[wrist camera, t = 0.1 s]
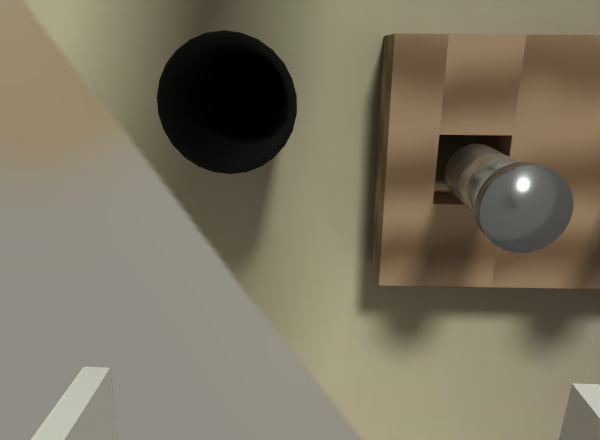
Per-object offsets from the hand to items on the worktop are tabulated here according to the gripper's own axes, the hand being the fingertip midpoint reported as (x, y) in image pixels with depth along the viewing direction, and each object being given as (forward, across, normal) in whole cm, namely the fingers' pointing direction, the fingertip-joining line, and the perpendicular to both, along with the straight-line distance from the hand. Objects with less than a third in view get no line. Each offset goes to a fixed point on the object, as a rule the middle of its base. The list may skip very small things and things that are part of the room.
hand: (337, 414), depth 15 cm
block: (+28, +16, +2) cm, 33 cm away
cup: (+28, -6, +7) cm, 30 cm away
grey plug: (+22, +10, +2) cm, 25 cm away
